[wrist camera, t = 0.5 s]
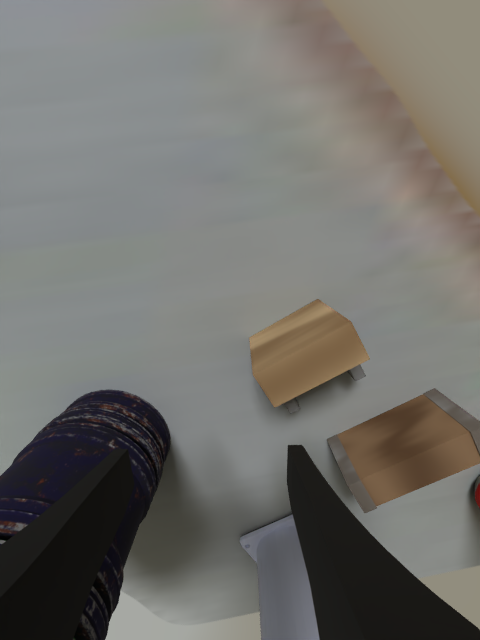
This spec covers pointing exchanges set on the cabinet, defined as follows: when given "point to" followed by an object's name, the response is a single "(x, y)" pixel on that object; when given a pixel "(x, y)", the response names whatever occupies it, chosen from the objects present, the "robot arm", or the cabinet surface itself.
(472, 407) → the cabinet surface
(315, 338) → the wooden forked bracket
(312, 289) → the cabinet surface
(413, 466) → the rail
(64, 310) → the cabinet surface
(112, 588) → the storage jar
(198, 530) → the cabinet surface
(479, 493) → the beer can
